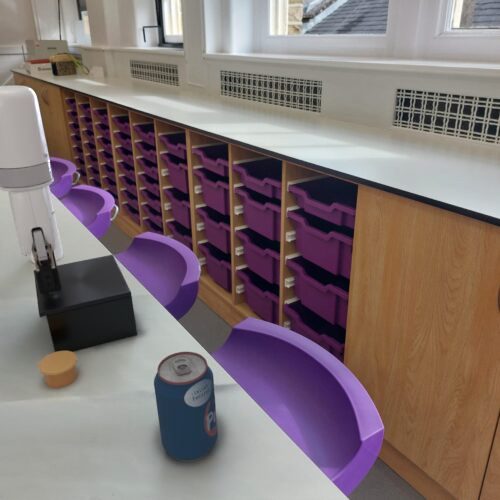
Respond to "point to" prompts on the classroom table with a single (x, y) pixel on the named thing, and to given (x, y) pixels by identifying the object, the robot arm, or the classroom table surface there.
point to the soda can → (186, 405)
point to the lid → (84, 285)
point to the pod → (59, 368)
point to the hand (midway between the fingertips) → (49, 281)
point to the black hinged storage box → (92, 325)
